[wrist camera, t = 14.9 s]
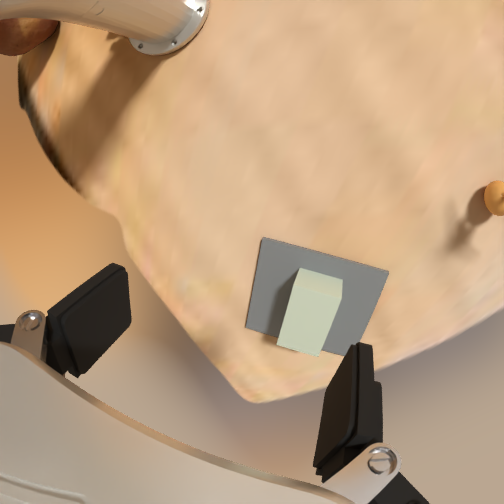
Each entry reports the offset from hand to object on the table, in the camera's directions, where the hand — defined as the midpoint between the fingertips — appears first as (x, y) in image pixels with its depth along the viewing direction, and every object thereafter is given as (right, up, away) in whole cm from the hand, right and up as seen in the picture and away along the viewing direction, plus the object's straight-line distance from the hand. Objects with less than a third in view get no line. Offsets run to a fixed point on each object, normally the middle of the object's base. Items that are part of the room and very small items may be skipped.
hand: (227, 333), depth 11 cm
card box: (+9, -3, +26) cm, 28 cm away
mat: (+9, -3, +27) cm, 28 cm away
